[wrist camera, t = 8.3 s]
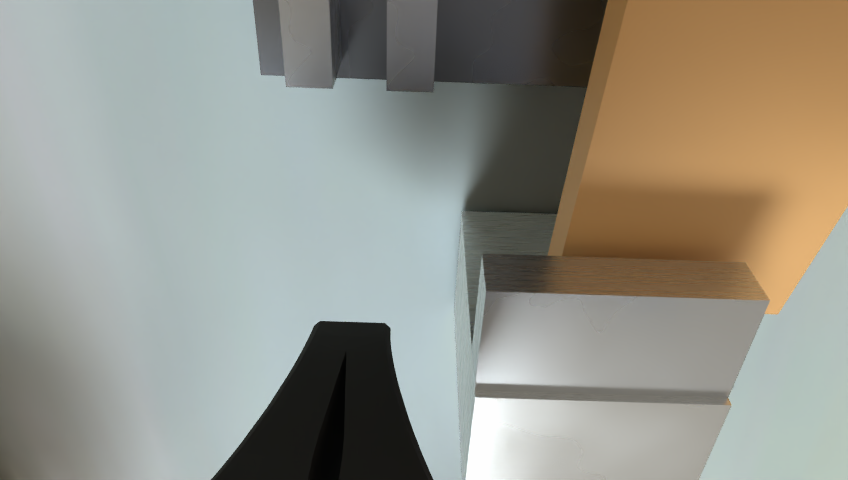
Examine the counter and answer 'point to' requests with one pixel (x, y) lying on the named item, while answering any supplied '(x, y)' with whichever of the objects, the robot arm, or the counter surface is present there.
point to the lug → (592, 356)
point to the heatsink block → (429, 41)
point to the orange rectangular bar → (712, 137)
